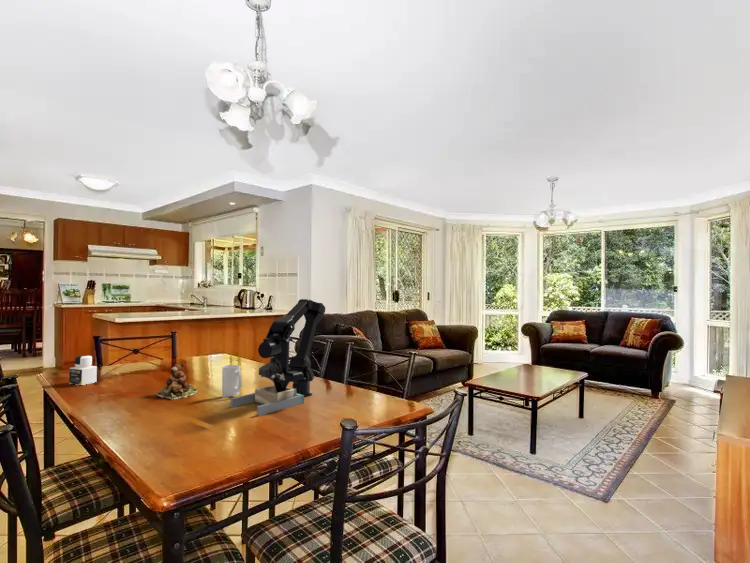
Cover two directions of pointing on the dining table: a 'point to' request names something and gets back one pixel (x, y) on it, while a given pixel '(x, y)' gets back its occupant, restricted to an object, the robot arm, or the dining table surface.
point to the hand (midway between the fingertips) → (280, 396)
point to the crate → (272, 394)
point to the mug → (231, 380)
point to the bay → (270, 406)
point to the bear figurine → (177, 385)
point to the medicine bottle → (83, 371)
